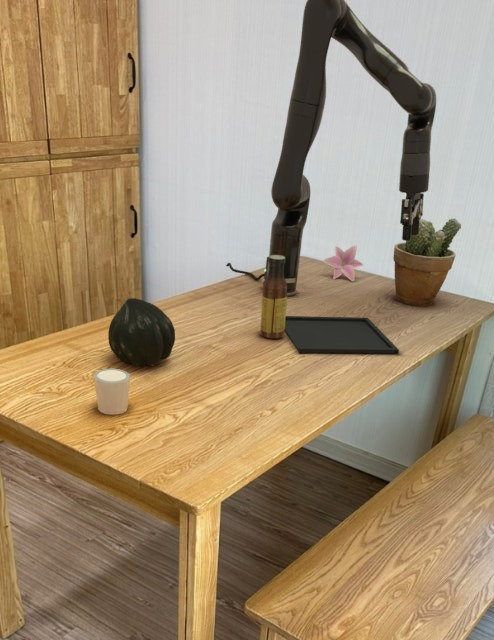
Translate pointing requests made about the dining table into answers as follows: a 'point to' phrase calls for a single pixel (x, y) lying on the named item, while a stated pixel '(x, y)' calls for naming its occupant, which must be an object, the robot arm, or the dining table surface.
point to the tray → (337, 335)
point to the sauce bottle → (274, 299)
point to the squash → (141, 333)
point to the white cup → (112, 390)
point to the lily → (344, 262)
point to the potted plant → (424, 263)
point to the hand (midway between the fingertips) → (410, 237)
